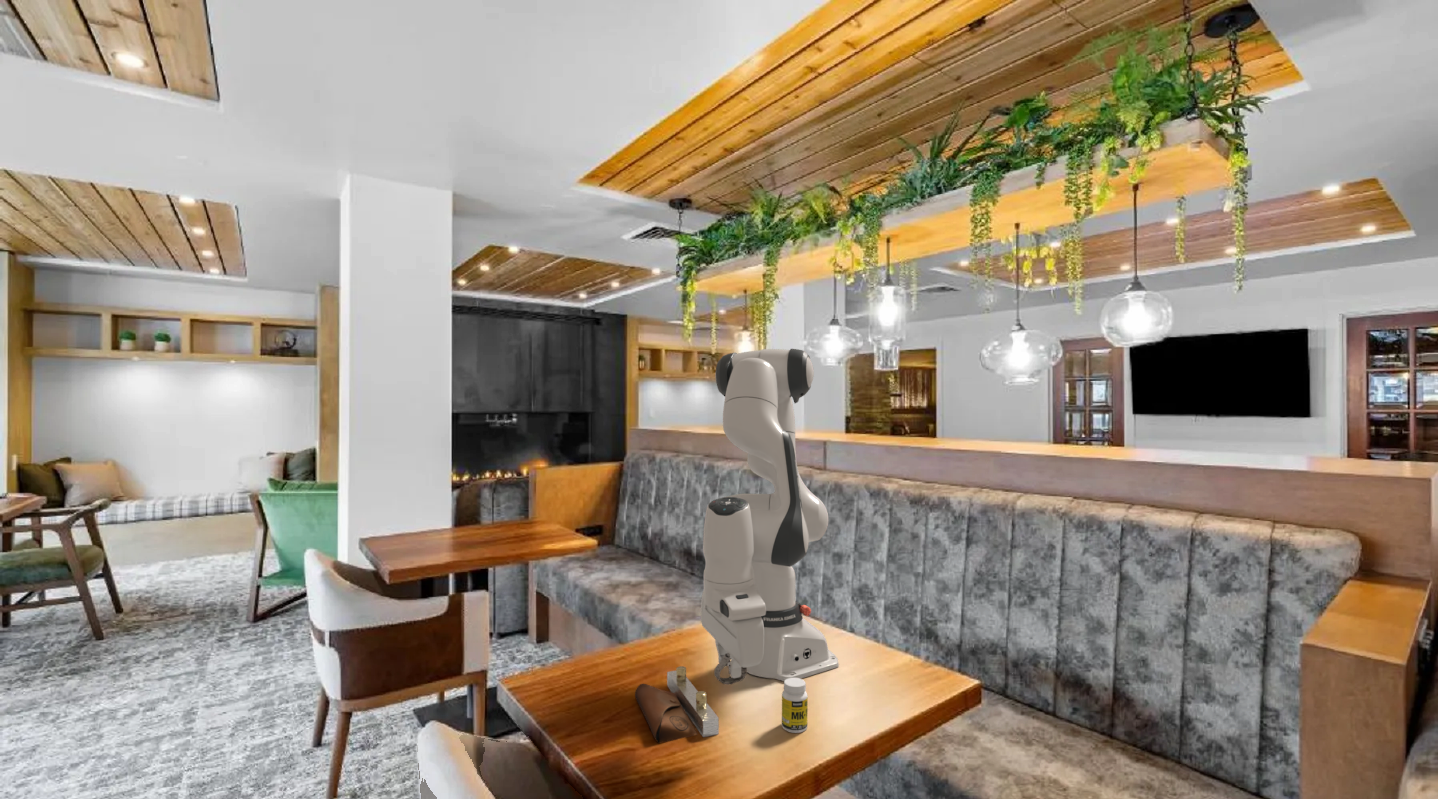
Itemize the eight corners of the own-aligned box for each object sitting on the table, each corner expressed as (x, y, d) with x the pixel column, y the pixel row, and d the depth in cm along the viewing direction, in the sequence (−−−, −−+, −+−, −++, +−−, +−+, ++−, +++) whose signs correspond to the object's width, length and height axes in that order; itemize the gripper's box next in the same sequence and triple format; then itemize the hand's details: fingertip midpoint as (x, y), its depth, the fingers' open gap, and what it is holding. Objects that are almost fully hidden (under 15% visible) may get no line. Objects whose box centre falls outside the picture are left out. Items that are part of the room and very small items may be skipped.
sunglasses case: (701, 734, 117) (683, 706, 116) (669, 761, 115) (650, 732, 114) (674, 692, 134) (658, 667, 133) (645, 714, 132) (629, 689, 131)
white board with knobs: (680, 683, 138) (680, 658, 138) (718, 734, 118) (718, 704, 117) (667, 686, 137) (667, 660, 137) (703, 737, 116) (703, 707, 116)
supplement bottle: (791, 736, 117) (791, 690, 117) (776, 724, 121) (776, 679, 121) (812, 729, 119) (812, 684, 119) (797, 718, 123) (797, 674, 123)
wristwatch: (750, 680, 113) (750, 652, 113) (721, 690, 110) (721, 661, 110) (738, 673, 116) (738, 645, 116) (709, 682, 113) (709, 654, 113)
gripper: (692, 577, 121) (693, 650, 122) (734, 614, 102) (735, 700, 103) (723, 573, 124) (724, 644, 124) (770, 609, 105) (771, 692, 105)
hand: (729, 670), depth 113 cm, fingers closed on wristwatch, 3 cm apart
